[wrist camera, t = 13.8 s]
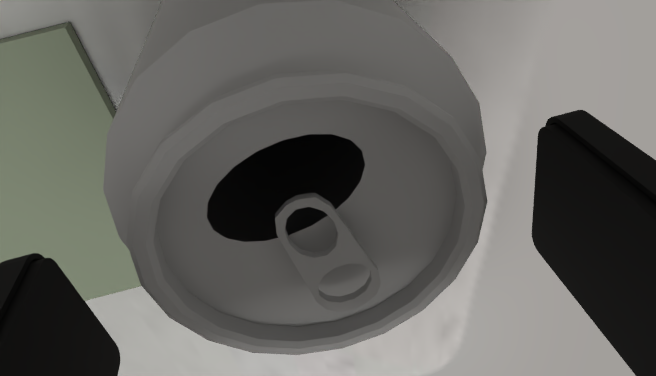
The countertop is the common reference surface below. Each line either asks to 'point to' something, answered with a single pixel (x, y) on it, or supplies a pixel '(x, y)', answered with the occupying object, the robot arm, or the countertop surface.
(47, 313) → the robot arm
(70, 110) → the mat
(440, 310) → the countertop surface
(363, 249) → the can
